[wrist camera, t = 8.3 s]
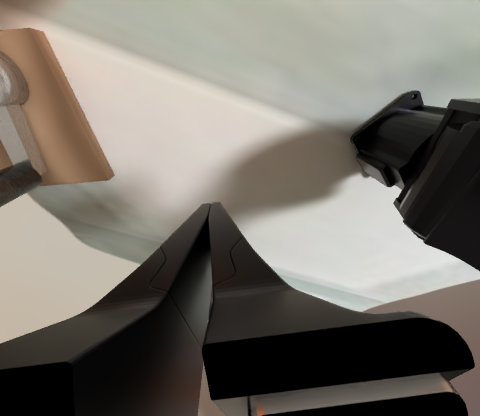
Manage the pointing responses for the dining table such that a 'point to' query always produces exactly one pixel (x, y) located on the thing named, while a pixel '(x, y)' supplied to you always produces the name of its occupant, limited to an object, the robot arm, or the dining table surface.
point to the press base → (53, 114)
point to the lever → (16, 135)
